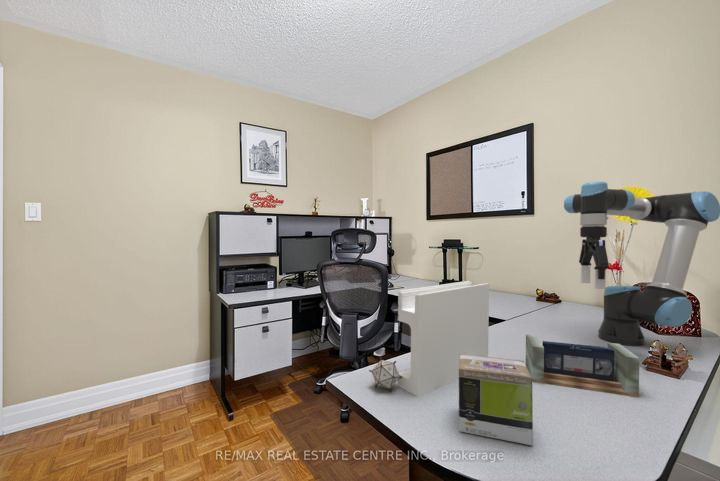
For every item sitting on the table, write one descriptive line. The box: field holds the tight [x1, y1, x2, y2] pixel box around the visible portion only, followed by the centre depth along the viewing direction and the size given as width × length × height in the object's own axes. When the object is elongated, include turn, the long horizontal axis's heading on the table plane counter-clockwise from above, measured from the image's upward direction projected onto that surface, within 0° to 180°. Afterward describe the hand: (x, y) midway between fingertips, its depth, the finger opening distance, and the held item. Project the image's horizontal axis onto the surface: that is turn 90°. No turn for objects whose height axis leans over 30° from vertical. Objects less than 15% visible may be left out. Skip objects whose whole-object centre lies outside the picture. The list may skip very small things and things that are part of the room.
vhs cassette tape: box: [542, 340, 615, 382], centre depth 95 cm, size 18×3×10 cm, turn 69°
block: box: [397, 280, 490, 398], centre depth 98 cm, size 35×8×28 cm, turn 127°
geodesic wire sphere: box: [368, 357, 402, 393], centre depth 89 cm, size 9×8×10 cm
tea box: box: [458, 354, 534, 446], centre depth 71 cm, size 15×10×15 cm, turn 71°
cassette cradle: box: [525, 333, 641, 398], centre depth 95 cm, size 26×12×11 cm, turn 70°
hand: (592, 285), depth 110 cm, fingers open, 13 cm apart
